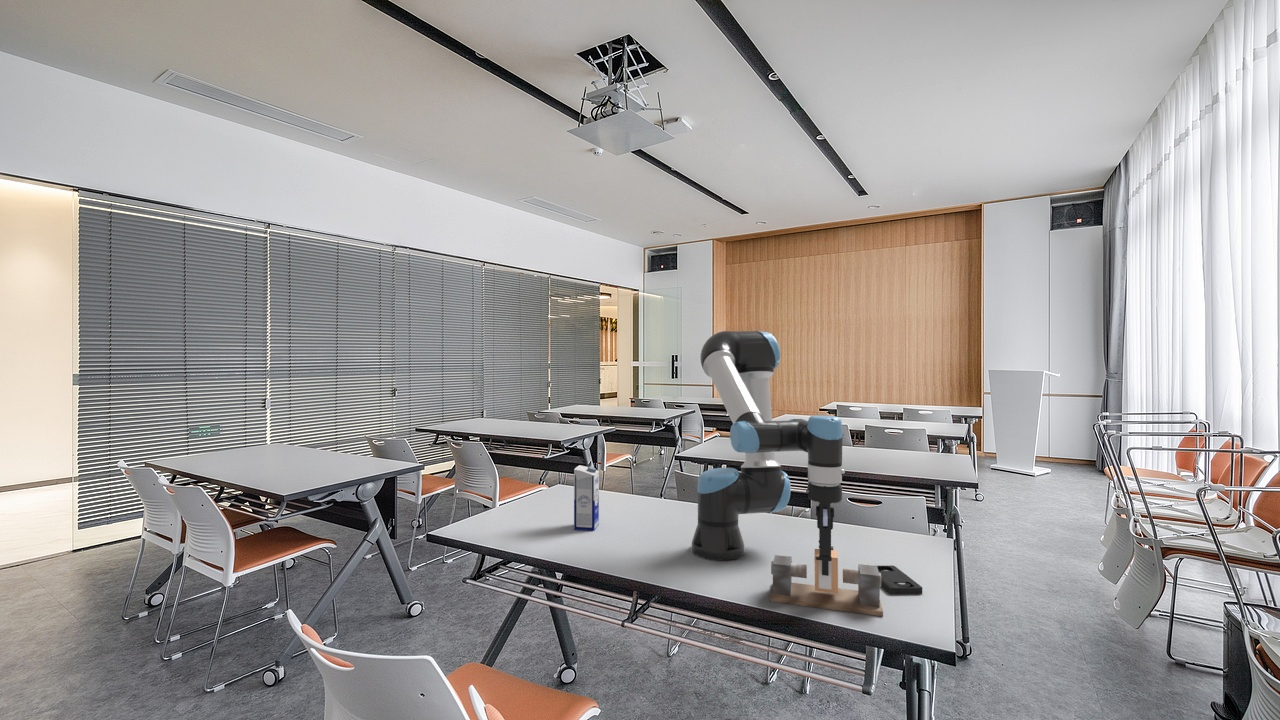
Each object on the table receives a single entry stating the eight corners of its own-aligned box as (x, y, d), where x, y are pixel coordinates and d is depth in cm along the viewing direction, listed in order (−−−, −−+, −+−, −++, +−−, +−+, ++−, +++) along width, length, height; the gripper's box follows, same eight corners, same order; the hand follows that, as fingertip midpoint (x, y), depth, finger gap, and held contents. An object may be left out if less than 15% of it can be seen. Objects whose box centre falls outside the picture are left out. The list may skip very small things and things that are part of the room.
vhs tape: (923, 596, 132) (923, 587, 132) (890, 596, 132) (890, 587, 132) (893, 572, 146) (893, 565, 146) (864, 573, 146) (864, 565, 146)
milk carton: (579, 523, 187) (579, 464, 187) (598, 524, 186) (598, 464, 186) (573, 530, 180) (573, 468, 180) (594, 531, 179) (594, 469, 179)
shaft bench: (769, 601, 128) (769, 566, 128) (773, 584, 137) (773, 552, 137) (883, 616, 120) (883, 579, 120) (878, 597, 130) (878, 563, 130)
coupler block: (838, 593, 125) (837, 558, 125) (814, 590, 127) (814, 555, 127) (837, 584, 130) (836, 550, 130) (815, 582, 132) (814, 548, 132)
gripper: (843, 493, 119) (843, 601, 119) (840, 476, 136) (840, 571, 136) (807, 490, 121) (807, 597, 121) (808, 474, 138) (808, 567, 138)
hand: (824, 583), depth 129 cm, fingers closed on coupler block, 5 cm apart
